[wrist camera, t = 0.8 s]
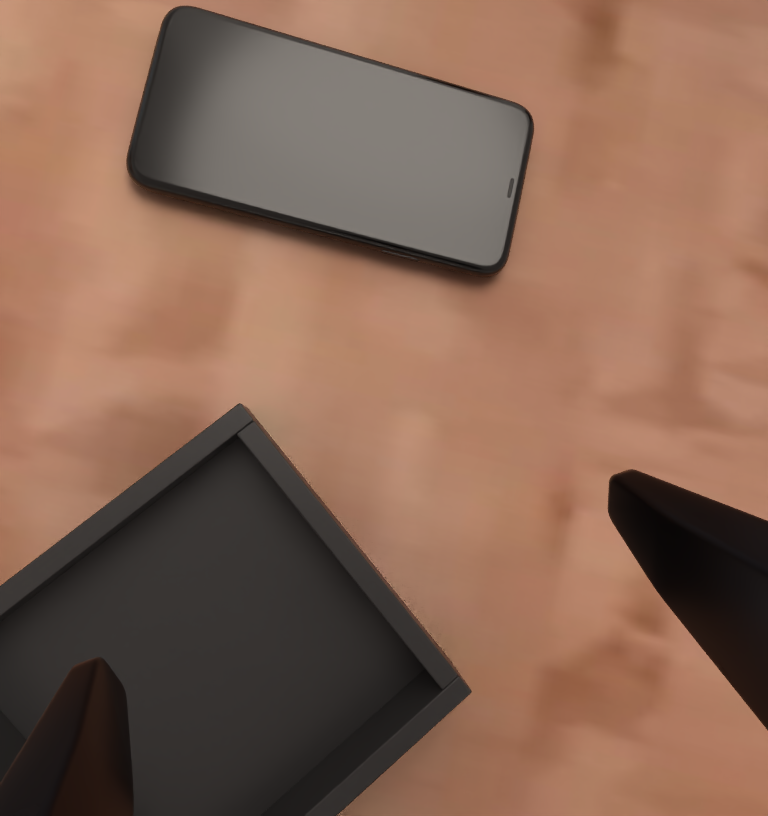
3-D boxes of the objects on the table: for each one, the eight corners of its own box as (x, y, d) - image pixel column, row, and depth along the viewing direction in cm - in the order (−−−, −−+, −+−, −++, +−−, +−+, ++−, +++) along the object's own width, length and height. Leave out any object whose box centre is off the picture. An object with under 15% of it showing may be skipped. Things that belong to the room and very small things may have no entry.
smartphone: (124, 189, 24) (498, 286, 26) (117, 179, 23) (505, 280, 25) (171, 9, 25) (533, 116, 27) (166, -7, 24) (541, 105, 26)
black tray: (451, 661, 25) (472, 692, 22) (164, 919, 23) (143, 992, 20) (247, 407, 25) (239, 402, 22) (-68, 648, 23) (-126, 681, 19)
